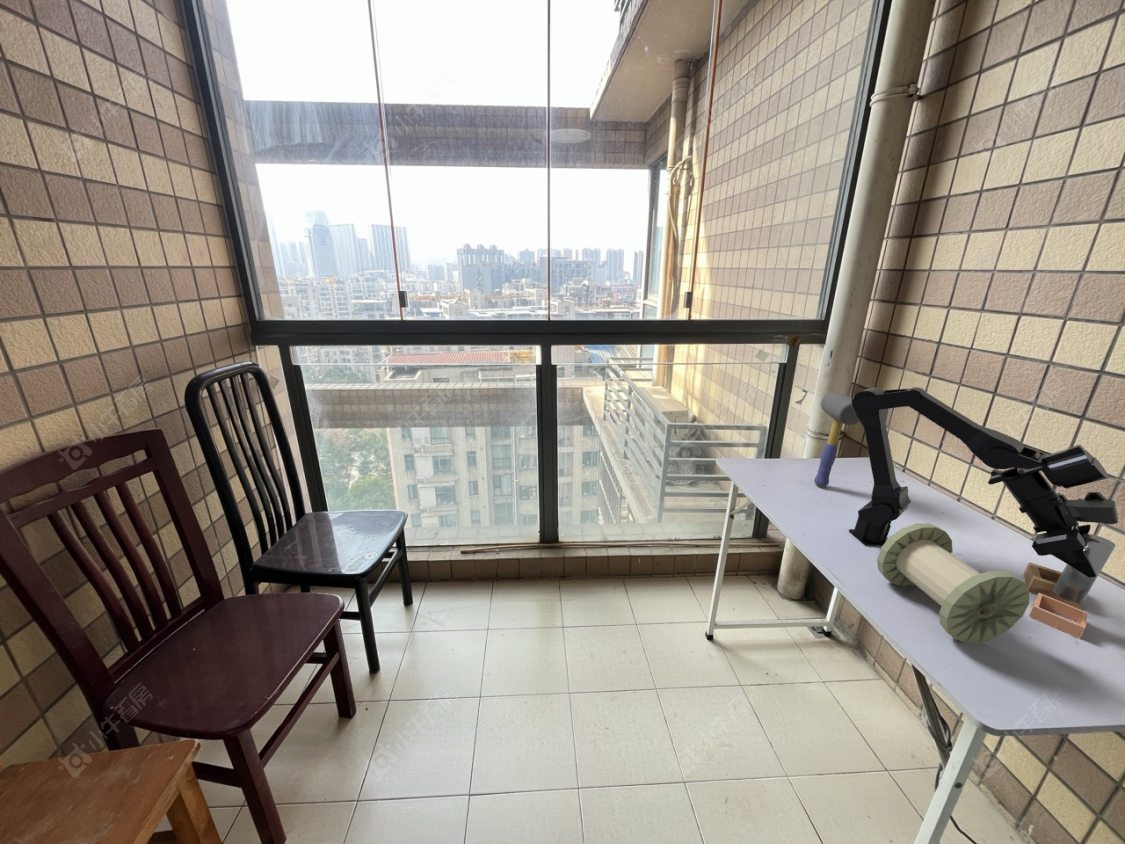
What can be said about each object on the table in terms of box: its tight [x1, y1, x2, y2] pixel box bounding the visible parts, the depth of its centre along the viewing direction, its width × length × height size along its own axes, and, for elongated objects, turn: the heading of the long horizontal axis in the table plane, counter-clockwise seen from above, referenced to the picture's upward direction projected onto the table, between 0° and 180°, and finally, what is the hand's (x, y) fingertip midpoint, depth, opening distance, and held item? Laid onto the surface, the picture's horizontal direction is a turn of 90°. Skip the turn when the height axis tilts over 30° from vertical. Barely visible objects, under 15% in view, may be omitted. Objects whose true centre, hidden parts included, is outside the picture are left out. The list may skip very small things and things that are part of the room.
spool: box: [876, 522, 1031, 644], centre depth 85 cm, size 16×15×15 cm
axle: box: [1053, 533, 1117, 604], centre depth 82 cm, size 4×4×13 cm
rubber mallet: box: [813, 391, 860, 488], centre depth 132 cm, size 12×8×30 cm, turn 174°
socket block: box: [1028, 593, 1089, 639], centre depth 85 cm, size 7×7×2 cm
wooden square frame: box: [1022, 561, 1082, 609], centre depth 93 cm, size 7×7×4 cm
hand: (1093, 572), depth 81 cm, fingers closed on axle, 4 cm apart
